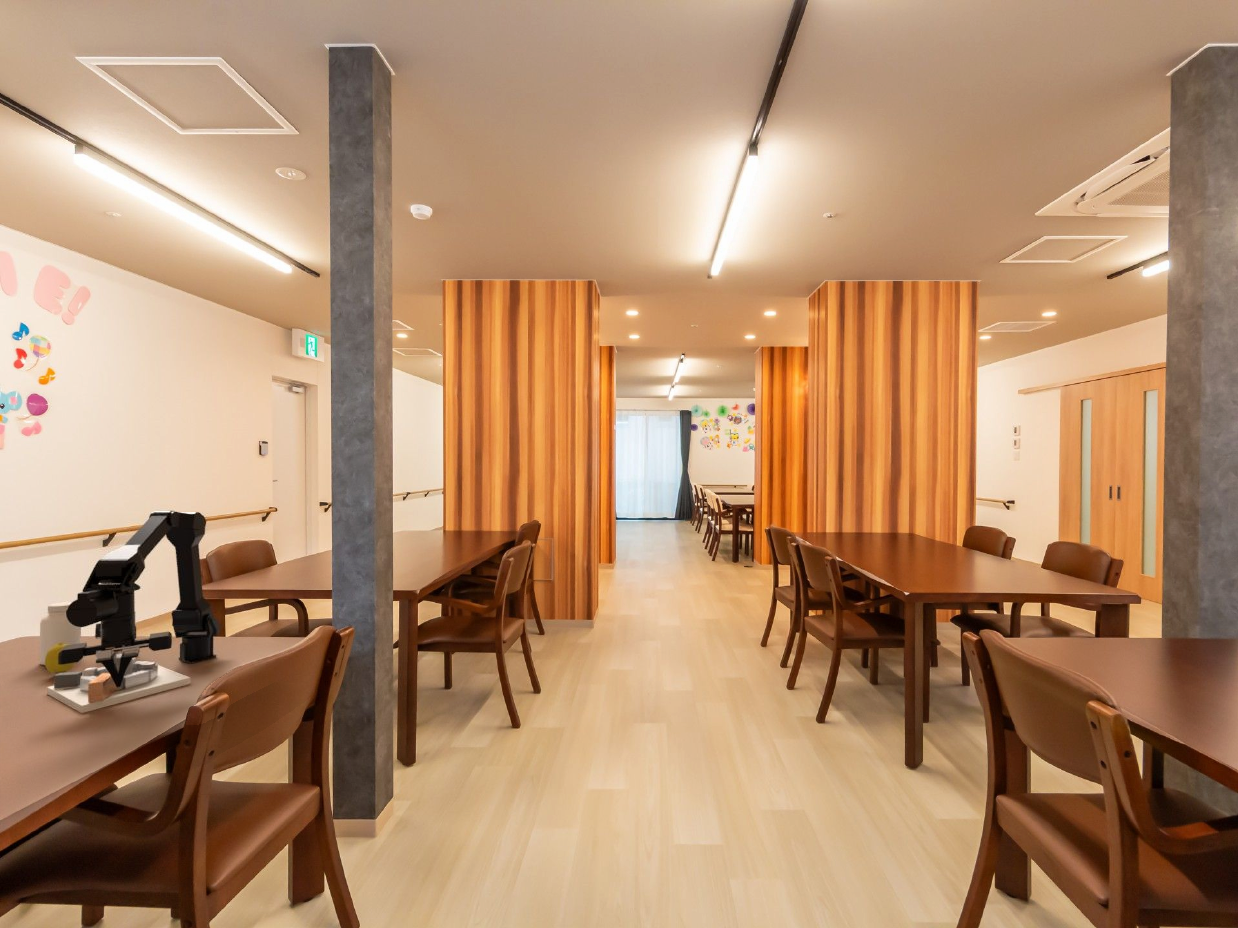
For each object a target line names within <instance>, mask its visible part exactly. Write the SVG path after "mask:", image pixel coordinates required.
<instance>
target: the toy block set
mask: <svg viewBox="0 0 1238 928" xmlns="http://www.w3.org/2000/svg"><path fill="white" fill-rule="evenodd" d="M136 660H137V657H136V658H133V673H131V674H127V675H124V677H123V680H122V683H121V686H120V687H116V685H115V683H114V681H113V679H112V677H111V675H110V673H108V671H107V669H106V668H105V667H104V666H101V667H87V668H85V669H83V671H82V676H81V677H80V689H81V690H85V691H88V703H90V702H99V701H104V700H105V699H106V698H107V697H108V696H109V695H111V694H112V693H113V692H114V691H115V690H122V689H123V688H124V689H127V688H130V687H134V686H137V685H141V684H144V683H148V681H152V680H153V679H154V678H155V677H156V676H157V675H158V665H159V664H158V663H156V661H148V660H147V661H146V660H140V661H139V660H137V661H136Z"/></svg>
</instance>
